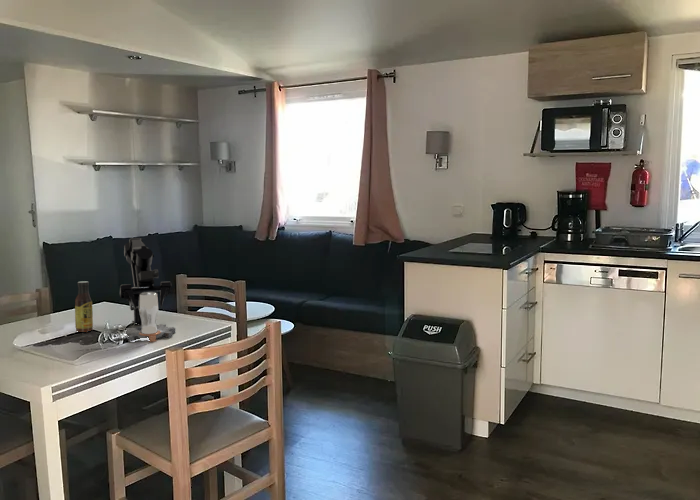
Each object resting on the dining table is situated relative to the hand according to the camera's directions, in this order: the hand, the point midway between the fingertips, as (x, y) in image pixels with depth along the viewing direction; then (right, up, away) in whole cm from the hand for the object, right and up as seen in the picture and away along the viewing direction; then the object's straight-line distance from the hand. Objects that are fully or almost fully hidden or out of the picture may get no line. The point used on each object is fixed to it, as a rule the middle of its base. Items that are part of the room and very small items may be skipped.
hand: (148, 307), depth 216 cm
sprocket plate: (-2, -11, +4) cm, 12 cm away
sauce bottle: (-29, -11, +10) cm, 32 cm away
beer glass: (0, -10, 0) cm, 10 cm away
